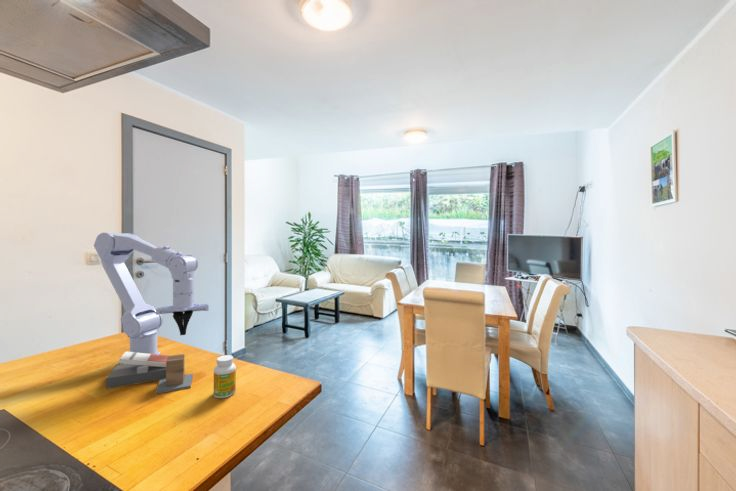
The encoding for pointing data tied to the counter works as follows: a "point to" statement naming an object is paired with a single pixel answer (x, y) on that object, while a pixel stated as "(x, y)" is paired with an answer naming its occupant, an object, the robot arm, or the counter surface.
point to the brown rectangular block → (175, 370)
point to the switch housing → (134, 374)
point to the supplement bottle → (224, 377)
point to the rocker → (143, 359)
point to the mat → (163, 388)
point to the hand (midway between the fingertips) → (183, 334)
